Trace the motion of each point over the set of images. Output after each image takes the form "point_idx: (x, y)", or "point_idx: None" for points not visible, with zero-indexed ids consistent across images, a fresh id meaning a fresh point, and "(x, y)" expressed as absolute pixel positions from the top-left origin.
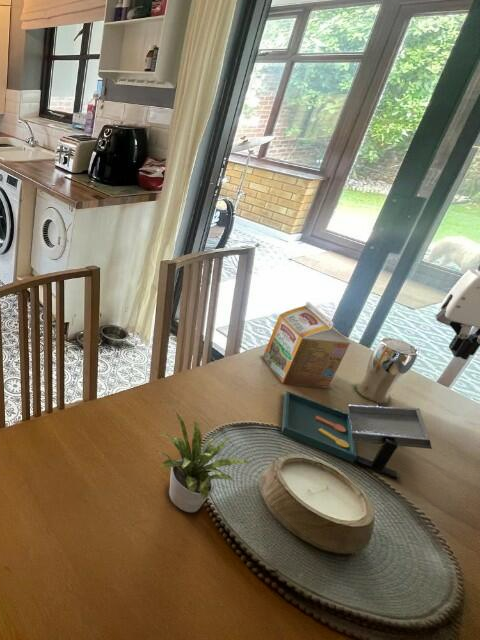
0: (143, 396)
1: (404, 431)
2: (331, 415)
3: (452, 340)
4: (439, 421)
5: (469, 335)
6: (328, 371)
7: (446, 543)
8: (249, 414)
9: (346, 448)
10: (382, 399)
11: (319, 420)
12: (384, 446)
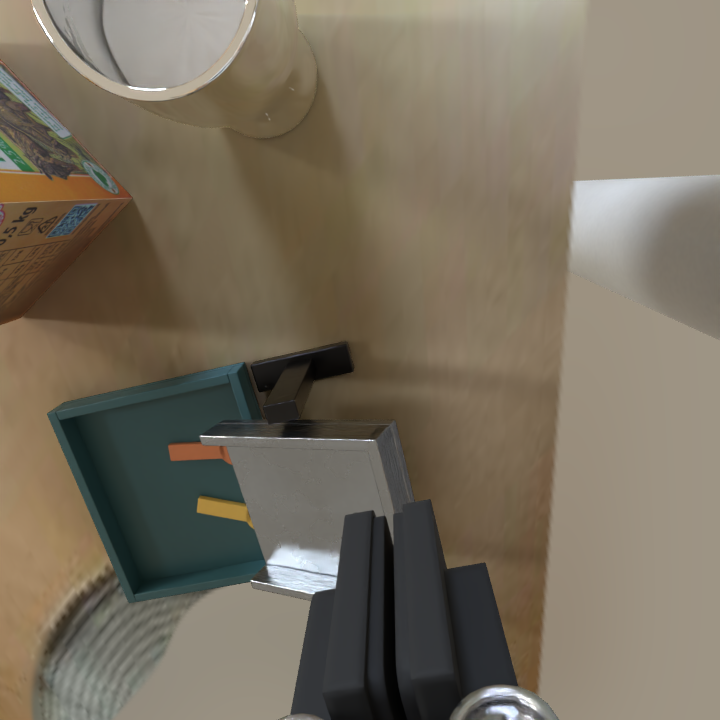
0: None
1: None
2: (199, 393)
3: (305, 650)
4: (485, 55)
5: (421, 693)
6: (64, 224)
7: None
8: (49, 574)
9: None
10: (294, 121)
11: (183, 458)
12: None
